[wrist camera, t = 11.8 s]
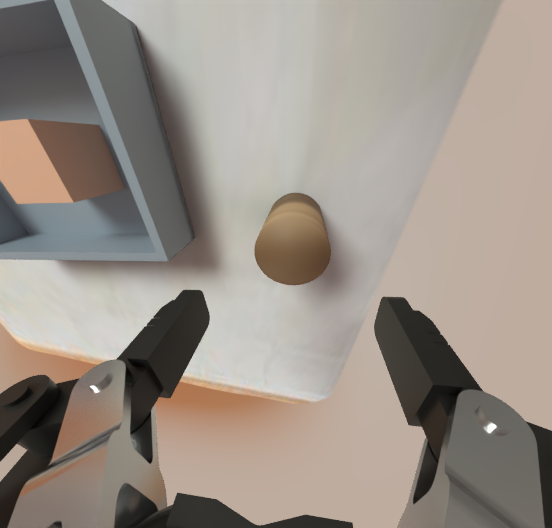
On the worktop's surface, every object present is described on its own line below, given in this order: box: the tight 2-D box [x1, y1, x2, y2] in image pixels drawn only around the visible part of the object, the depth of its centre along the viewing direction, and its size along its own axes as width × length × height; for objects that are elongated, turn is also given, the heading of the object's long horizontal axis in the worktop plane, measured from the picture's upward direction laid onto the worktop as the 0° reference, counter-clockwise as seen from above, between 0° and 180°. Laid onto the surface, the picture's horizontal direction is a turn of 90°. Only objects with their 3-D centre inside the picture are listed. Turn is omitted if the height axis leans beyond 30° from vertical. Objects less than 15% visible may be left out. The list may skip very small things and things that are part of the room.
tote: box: [0, 0, 195, 261], centre depth 17 cm, size 16×21×5 cm
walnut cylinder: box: [255, 193, 331, 285], centre depth 16 cm, size 5×5×7 cm
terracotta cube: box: [0, 119, 125, 204], centre depth 16 cm, size 5×5×5 cm
